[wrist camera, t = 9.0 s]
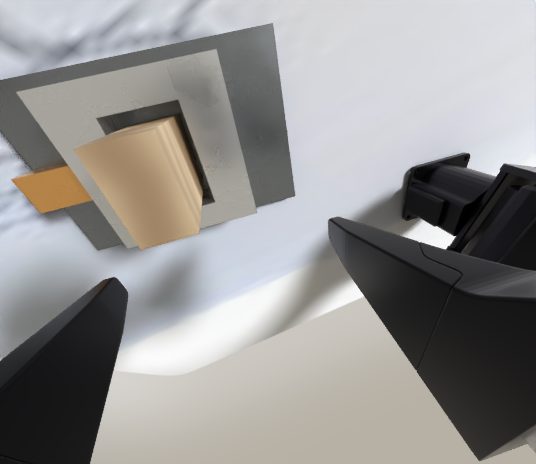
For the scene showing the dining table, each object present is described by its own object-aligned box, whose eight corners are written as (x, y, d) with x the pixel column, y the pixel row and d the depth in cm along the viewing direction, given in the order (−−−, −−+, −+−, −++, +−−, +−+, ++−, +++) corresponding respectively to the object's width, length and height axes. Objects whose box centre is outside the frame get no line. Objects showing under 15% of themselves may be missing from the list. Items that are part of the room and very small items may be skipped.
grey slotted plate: (269, 27, 14) (286, 7, 11) (291, 192, 21) (306, 210, 18) (-19, 87, 13) (-97, 86, 10) (102, 243, 20) (81, 273, 17)
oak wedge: (178, 113, 15) (152, 130, 8) (203, 181, 18) (199, 233, 11) (134, 124, 15) (73, 149, 8) (166, 191, 18) (140, 250, 11)
